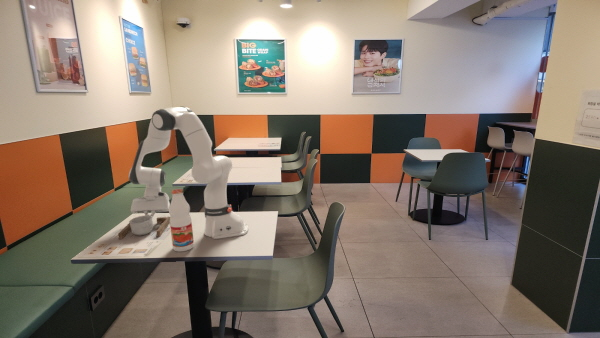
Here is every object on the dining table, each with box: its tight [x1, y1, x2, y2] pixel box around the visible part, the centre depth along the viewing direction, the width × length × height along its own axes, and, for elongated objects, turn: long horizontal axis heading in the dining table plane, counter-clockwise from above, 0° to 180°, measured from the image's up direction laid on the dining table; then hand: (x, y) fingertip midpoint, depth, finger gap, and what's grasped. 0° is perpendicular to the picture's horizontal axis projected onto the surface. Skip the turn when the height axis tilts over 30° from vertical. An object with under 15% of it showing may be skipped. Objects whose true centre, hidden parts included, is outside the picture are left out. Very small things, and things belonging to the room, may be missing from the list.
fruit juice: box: [168, 188, 195, 253], centre depth 152 cm, size 9×9×28 cm
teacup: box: [128, 213, 154, 236], centre depth 173 cm, size 14×11×8 cm
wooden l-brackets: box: [117, 216, 171, 240], centre depth 177 cm, size 20×20×3 cm
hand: (148, 219), depth 181 cm, fingers closed, pressing on teacup
